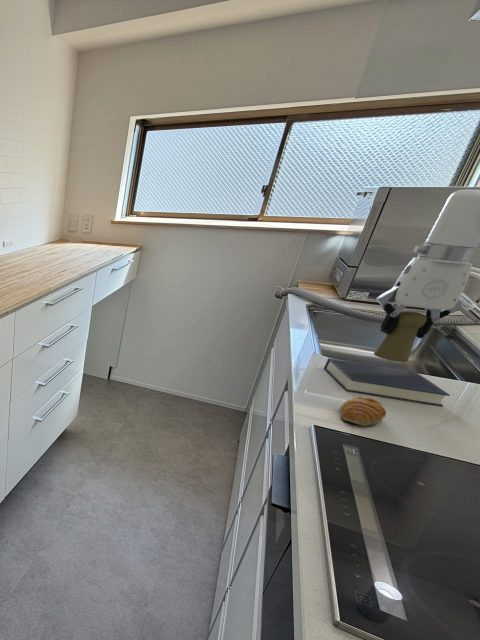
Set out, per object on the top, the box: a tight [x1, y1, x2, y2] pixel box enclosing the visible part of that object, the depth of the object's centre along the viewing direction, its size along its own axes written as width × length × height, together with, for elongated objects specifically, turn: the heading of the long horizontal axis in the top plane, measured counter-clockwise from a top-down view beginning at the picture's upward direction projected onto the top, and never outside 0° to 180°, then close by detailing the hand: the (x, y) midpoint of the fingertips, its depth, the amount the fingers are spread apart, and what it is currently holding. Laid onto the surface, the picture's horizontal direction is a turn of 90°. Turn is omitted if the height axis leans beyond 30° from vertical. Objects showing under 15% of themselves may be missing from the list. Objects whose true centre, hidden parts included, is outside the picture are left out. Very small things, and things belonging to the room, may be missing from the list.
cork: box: [373, 310, 427, 363], centre depth 95 cm, size 6×6×11 cm
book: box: [323, 357, 451, 407], centre depth 101 cm, size 18×14×3 cm
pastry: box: [340, 396, 387, 427], centre depth 85 cm, size 9×7×4 cm
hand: (401, 333), depth 95 cm, fingers closed on cork, 5 cm apart
